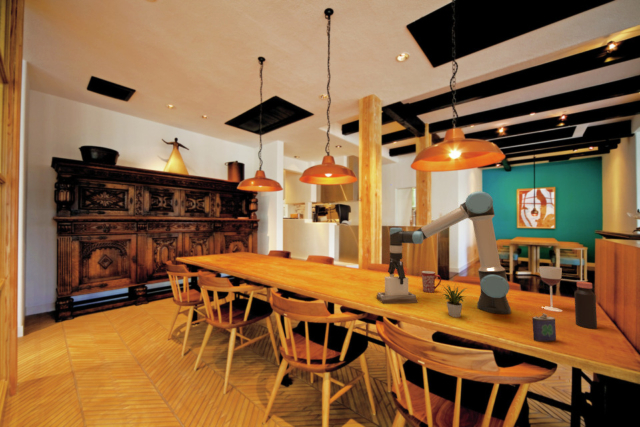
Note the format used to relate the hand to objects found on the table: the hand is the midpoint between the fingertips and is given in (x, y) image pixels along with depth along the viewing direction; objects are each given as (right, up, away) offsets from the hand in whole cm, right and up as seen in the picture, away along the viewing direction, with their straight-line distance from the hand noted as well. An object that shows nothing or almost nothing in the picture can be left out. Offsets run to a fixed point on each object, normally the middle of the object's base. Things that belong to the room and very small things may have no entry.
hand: (396, 286), depth 153 cm
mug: (+31, -10, +20) cm, 38 cm away
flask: (+44, -6, -53) cm, 69 cm away
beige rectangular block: (0, -6, 0) cm, 6 cm away
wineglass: (+83, -8, -14) cm, 85 cm away
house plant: (+21, -7, -25) cm, 34 cm away
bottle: (+77, -7, -38) cm, 86 cm away
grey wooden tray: (0, -8, 0) cm, 8 cm away
